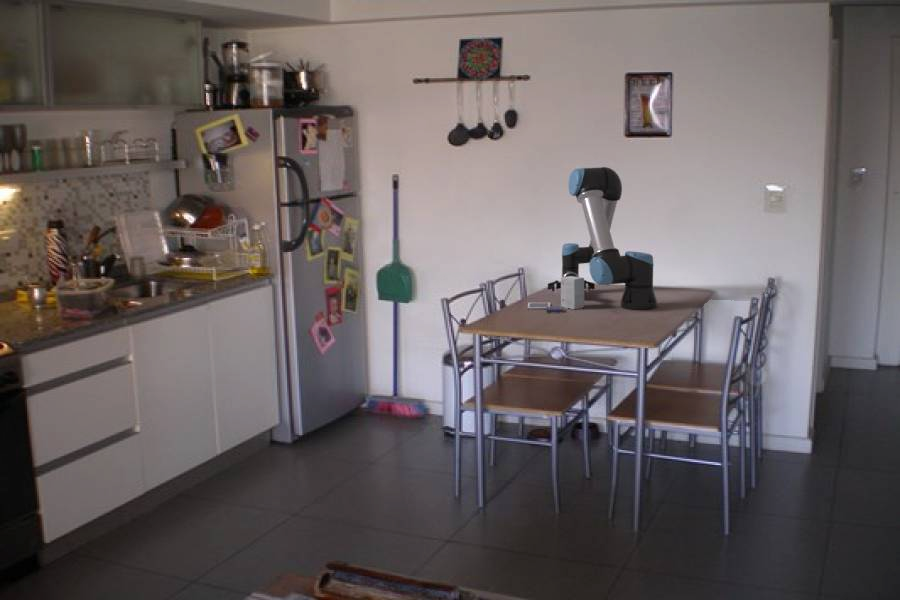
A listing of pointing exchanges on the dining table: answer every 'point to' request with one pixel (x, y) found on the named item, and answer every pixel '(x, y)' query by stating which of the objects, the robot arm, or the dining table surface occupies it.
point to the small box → (572, 292)
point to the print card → (538, 305)
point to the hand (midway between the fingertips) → (571, 289)
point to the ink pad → (555, 309)
